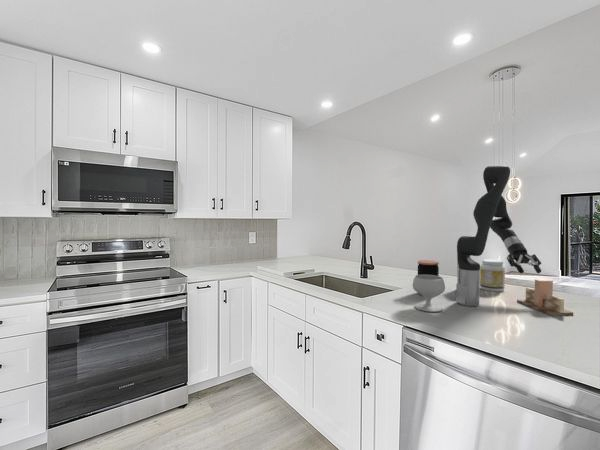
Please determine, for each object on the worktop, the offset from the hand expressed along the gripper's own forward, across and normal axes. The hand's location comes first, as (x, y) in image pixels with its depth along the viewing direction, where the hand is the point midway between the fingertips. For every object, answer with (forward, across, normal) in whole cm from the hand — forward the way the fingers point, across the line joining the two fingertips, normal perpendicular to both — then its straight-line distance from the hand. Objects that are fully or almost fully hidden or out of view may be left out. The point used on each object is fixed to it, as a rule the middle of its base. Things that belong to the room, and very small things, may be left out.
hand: (531, 272), depth 149 cm
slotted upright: (+15, 0, +4) cm, 16 cm away
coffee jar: (-2, -43, +24) cm, 49 cm away
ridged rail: (+16, 0, +5) cm, 17 cm away
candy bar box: (-4, -21, +26) cm, 34 cm away
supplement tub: (-8, -1, +30) cm, 32 cm away
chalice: (+16, -54, +6) cm, 57 cm away
